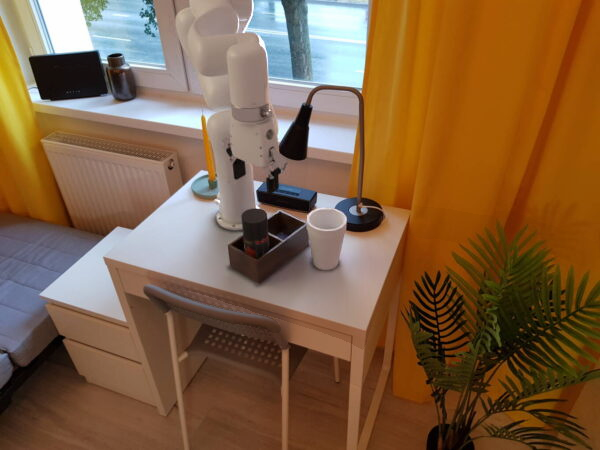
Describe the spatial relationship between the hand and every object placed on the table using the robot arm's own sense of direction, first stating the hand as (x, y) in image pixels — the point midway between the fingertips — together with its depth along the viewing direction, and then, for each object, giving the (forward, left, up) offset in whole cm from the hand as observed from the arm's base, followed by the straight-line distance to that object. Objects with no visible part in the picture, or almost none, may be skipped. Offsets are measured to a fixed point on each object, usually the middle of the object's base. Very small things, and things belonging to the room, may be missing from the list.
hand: (256, 184), depth 106 cm
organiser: (-1, +4, -24) cm, 24 cm away
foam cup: (+11, +11, -24) cm, 29 cm away
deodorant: (-1, 0, -24) cm, 24 cm away
